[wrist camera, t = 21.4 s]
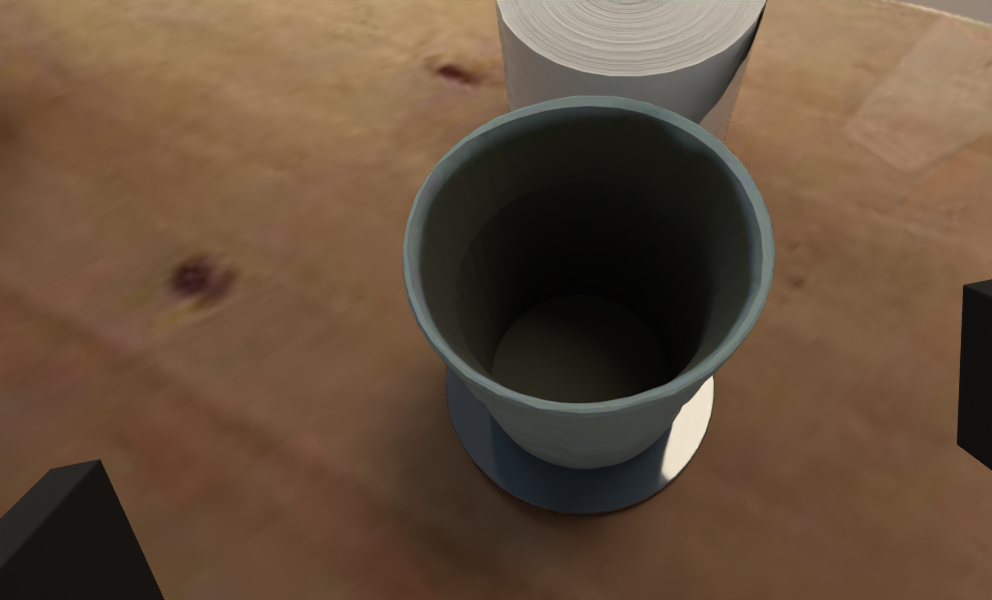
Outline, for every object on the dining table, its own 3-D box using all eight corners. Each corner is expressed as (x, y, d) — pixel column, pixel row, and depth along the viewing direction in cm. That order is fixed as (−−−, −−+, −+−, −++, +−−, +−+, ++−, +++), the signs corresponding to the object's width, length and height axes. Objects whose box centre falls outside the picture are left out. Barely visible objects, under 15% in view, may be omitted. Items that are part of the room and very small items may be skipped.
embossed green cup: (735, 331, 29) (829, 164, 19) (635, 544, 26) (679, 491, 15) (532, 241, 32) (511, 52, 22) (420, 421, 29) (329, 306, 18)
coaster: (750, 485, 27) (753, 482, 27) (469, 540, 27) (467, 538, 27) (668, 242, 32) (670, 236, 32) (432, 290, 32) (430, 285, 32)
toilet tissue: (605, 32, 38) (616, -148, 29) (785, 142, 34) (861, -29, 25) (471, 145, 36) (438, -13, 27) (646, 281, 31) (676, 145, 22)
